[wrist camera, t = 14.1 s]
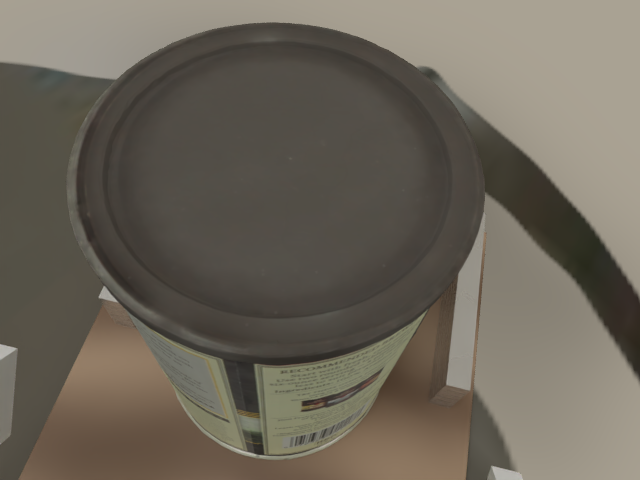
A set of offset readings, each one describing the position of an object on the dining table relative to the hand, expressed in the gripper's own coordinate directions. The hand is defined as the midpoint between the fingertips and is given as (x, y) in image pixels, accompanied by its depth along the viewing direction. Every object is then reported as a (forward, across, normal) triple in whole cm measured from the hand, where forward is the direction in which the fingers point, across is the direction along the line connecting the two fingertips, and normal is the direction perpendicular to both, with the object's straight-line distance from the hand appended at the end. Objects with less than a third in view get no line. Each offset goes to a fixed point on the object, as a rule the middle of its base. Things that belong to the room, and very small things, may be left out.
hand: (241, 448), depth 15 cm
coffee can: (+11, 0, -2) cm, 11 cm away
